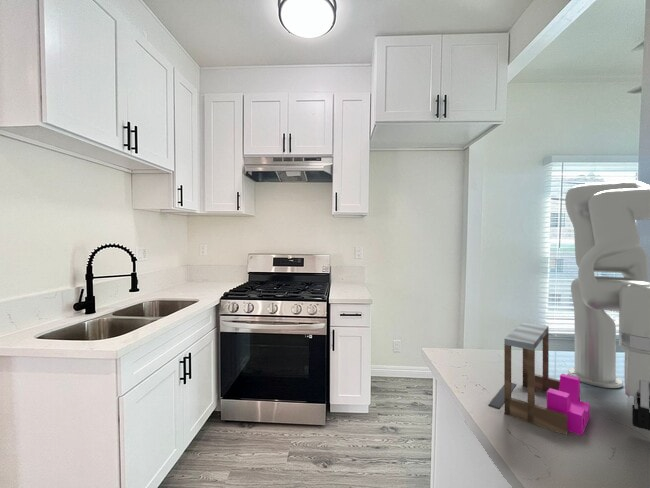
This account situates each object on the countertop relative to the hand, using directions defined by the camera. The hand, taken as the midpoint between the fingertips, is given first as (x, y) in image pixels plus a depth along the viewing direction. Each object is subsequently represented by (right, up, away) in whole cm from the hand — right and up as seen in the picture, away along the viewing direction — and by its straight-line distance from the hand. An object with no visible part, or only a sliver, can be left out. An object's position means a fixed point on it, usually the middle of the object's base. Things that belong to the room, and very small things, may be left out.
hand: (642, 426), depth 66 cm
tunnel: (-13, -2, +12) cm, 18 cm away
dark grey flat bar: (-19, -2, +18) cm, 27 cm away
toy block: (-9, -3, +8) cm, 12 cm away
